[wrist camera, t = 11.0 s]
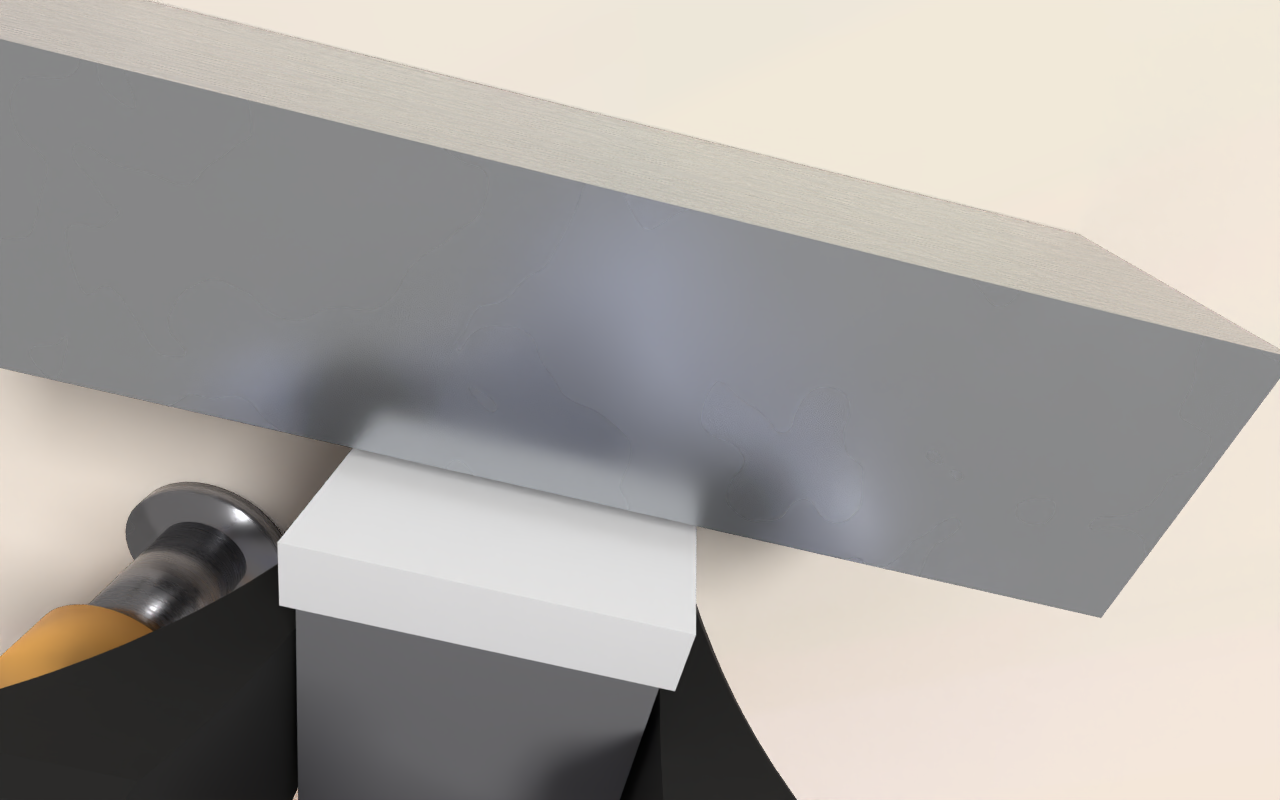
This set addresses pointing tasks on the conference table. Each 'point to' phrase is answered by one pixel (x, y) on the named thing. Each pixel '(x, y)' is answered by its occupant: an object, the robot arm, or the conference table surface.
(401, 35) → the conference table surface
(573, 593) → the plug
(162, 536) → the lever handle base
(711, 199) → the socket
